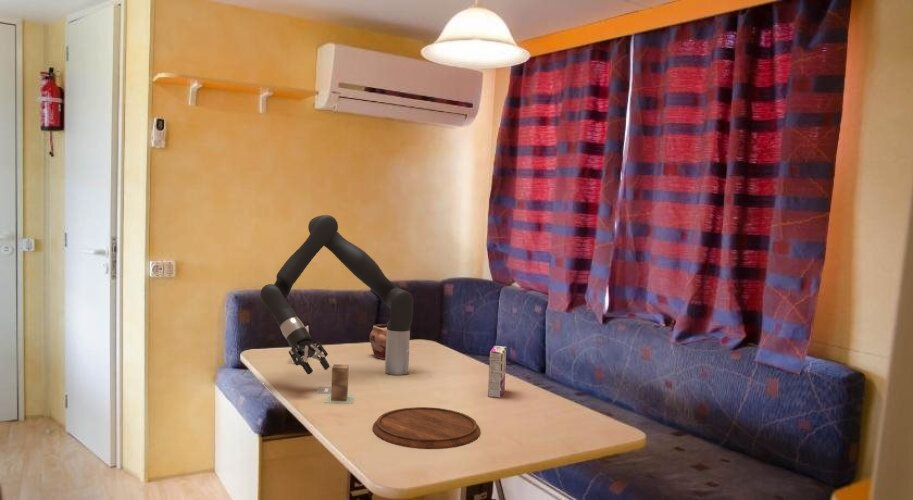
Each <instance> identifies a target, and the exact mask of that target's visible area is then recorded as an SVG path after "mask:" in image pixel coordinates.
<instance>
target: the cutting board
mask: <svg viewBox="0 0 913 500" xmlns="http://www.w3.org/2000/svg"><path fill="white" fill-rule="evenodd" d="M372 433H373V434H374V435H375V436H376V437H377V438H378V439H380V440H382V441H384V442H386V443H389V444H392V445H395V446H399V447H404V448H405V447H406V448H412V449H419V450H420V449H421V450H440V449H441V450H442V449H452V448H458V447H461V446H466V445H469V444H471V443H473V442H474V441H476V440H477V439H478V438H479V437H480V436H481V428H480V426H479V425H478V423H477V421H476V420H475V419H474V418H473V417H472V416H470V415H468V414H465V413H463V412H459V411H456V410H452V409H448V408H440V407H429V406H428V407H426V406H425V407H424V406H423V407H422V406H420V407H419V406H417V407H414V406H413V407H405V408H404V407H403V408H397V409H394V410H390V411H387V412H385V413H382V414H381V415H379V416H378V418H377V419H376V420H375V421H374V423H373V425H372Z"/></svg>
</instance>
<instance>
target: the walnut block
mask: <svg viewBox="0 0 913 500" xmlns="http://www.w3.org/2000/svg"><path fill="white" fill-rule="evenodd" d="M331 368H332V369H331V386H330V387H331V394H330V395H331V401H346V400H347V397H348V395H349V391H348V390H349V372H350V371H349V369H350V367H349V364H338V363H337V364H333V365H332V367H331Z"/></svg>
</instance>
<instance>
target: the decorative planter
mask: <svg viewBox="0 0 913 500" xmlns="http://www.w3.org/2000/svg"><path fill="white" fill-rule="evenodd" d="M386 336H387V324H375V325H373V327H372V330H371V332H370V333H369V343H370V345H371V346H370V347H371V349H372V353H373V356H374V357H375V358H378V359H383V360H385V358H386Z"/></svg>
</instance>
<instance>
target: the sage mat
mask: <svg viewBox="0 0 913 500" xmlns="http://www.w3.org/2000/svg"><path fill="white" fill-rule="evenodd" d="M354 396H355V395H353V394H351V395H350V394H348V397H347V400H346V401H331V394H326V398H325V400H324V404H353V402H354V398H355V397H354Z"/></svg>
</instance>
